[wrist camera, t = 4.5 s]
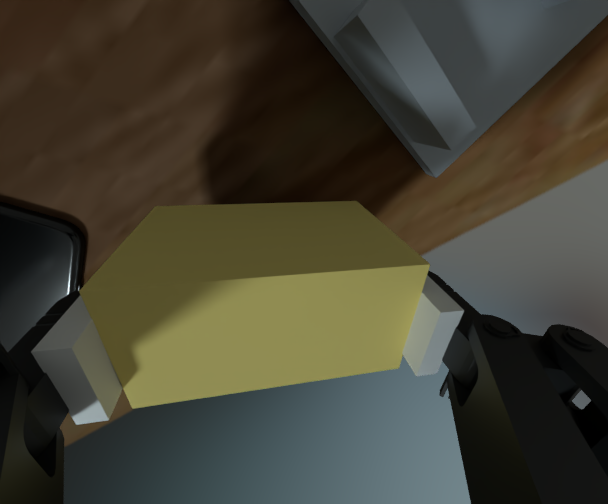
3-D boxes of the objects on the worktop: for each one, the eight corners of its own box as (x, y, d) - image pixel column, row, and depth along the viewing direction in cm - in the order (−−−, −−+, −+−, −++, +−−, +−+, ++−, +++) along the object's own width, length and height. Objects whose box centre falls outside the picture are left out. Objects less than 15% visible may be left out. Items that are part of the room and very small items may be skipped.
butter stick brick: (176, 292, 13) (132, 408, 8) (155, 206, 11) (78, 291, 6) (346, 278, 15) (398, 368, 10) (356, 200, 13) (430, 264, 8)
